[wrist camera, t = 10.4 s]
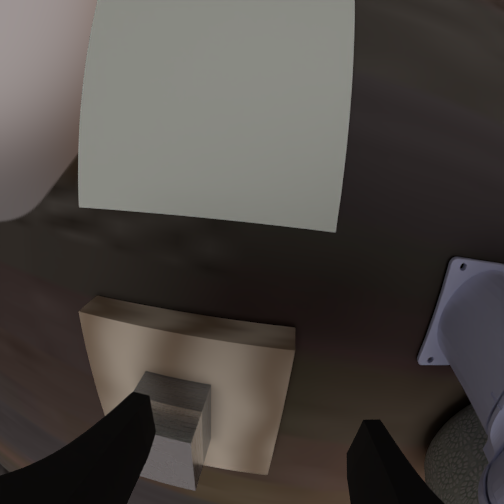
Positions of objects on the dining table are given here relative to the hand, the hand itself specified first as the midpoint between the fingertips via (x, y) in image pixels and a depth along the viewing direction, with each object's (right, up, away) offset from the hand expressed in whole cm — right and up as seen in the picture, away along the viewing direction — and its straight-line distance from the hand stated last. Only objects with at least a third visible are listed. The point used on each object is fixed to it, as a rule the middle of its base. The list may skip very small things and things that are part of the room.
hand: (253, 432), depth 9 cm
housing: (-5, -5, +11) cm, 13 cm away
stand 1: (-2, +15, +6) cm, 16 cm away
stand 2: (-5, -5, +13) cm, 15 cm away
